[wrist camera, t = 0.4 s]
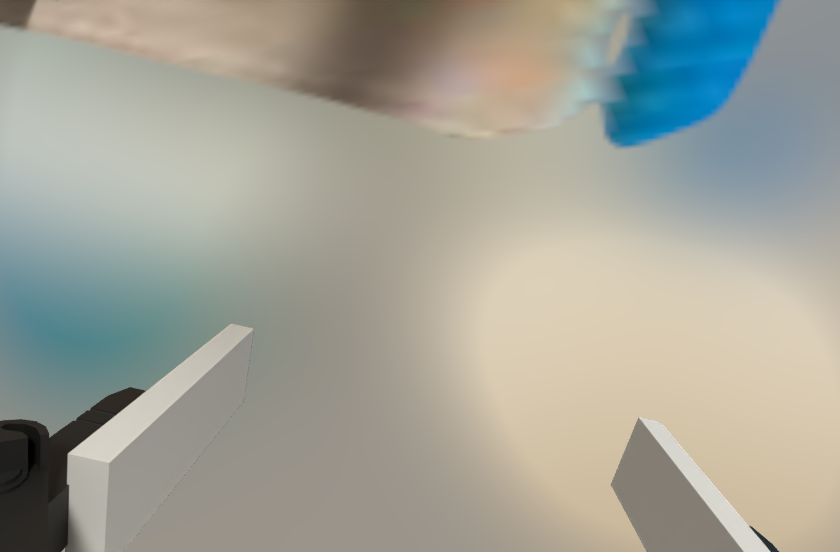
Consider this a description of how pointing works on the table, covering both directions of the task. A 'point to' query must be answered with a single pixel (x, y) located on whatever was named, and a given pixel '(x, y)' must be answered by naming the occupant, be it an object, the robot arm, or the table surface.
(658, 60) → the table surface
